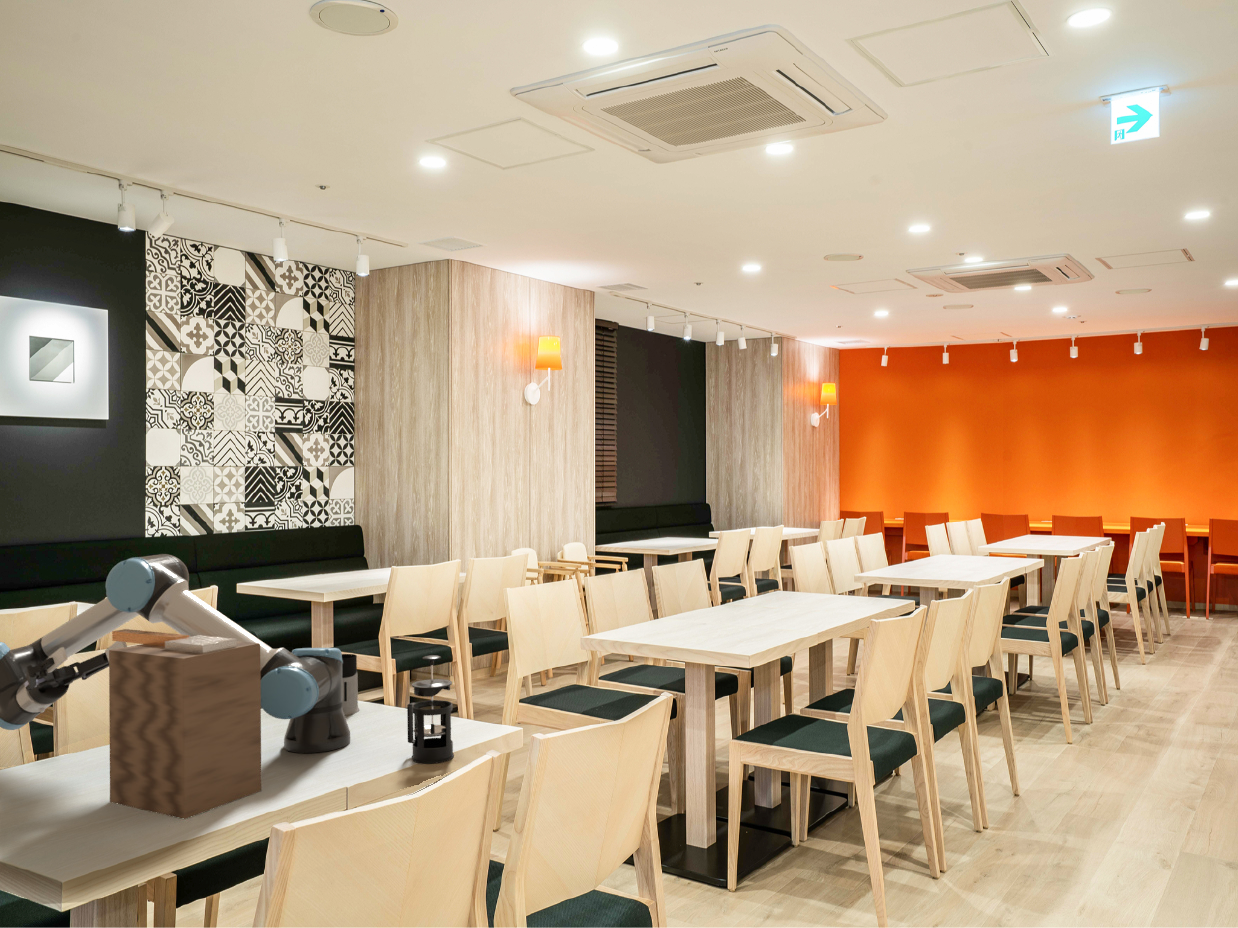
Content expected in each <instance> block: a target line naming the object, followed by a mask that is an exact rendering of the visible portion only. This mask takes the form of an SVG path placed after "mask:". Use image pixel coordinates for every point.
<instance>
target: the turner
mask: <svg viewBox="0 0 1238 928" xmlns="http://www.w3.org/2000/svg"><path fill="white" fill-rule="evenodd" d="M111 633H112V634H111V639H112V642H116V641H120V642H126V643H131V644H138V645H141V644H148V645H157V646H165V650H174V651H183V652H192V653H201V654H204V653H209V652H214V651H219V650H224V649H229V648H234V647H237V639H233V638H222V637H212V636H201V635H198V636H193V637H189V635H182V634H180V633H170V632H169V633H168V632H162V631H161V632H157V631H149V630H137V629H129V628H123V629H119V630H117V629H116V630H113V631H111Z"/></svg>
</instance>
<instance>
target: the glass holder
mask: <svg viewBox="0 0 1238 928" xmlns="http://www.w3.org/2000/svg"><path fill="white" fill-rule="evenodd" d="M342 660H343V664H342V708H343V713H344V716H347V715H348V716H349V715H353V714H357V713H358V712H360V708H359V703H358V702H359V701H358V697H359V696H358V695H359V694H358V693H359V692H358V690H359V689H358V688H359V686H358V683H359V682H358V678H359V677H358V665H357V664H358V663H357V662H358V659H357V654H355V653H354V654H353V653H342Z"/></svg>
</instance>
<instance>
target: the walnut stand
mask: <svg viewBox="0 0 1238 928" xmlns="http://www.w3.org/2000/svg"><path fill="white" fill-rule="evenodd" d="M189 637H191V636H189ZM108 672H109V673H108V676H109V677H108V679H109V681H108V685H109V692H108V693H109V696H108V697H109V700H108V701H109V702H108V703H109V704H108V705H109V706H108V707H109V708H108V709H109V711H108V713H109V715H108V716H109V719H108V720H109V802H110V803H112V802H113V804H116V803H118V804H117V805H121V804H122V805H121V806H125V805H126V807H129V806H130V807H131V808H133V809H134V808H135V809H139V810H144V811H147V812H151V811H152V813H156V812H157V813H156V814H160V813H161V815H164V814H166V815H165V816H169V815H170V817H173V816H174V818H177V817H179V818H178V819H182V818H184V819H183V820H186V818H187V819H189V818H192V817H195V816H197V815H200V814H202V812H203V813H205V812H208V811H210V809H211V810H213V808H214V809H216V808H218V806H219V807H221V805H222V806H224V805H227V804H229V802H230V803H232V802H235V801H237V799H238V800H240V799H243V798H245V796H246V797H247V796H248V797H249V796H251V795H253V794H256V793H259V792H262V707H261V675H260V643H253V642H242V641H237V647H234V648H229V649H224V650H219V651H214V652H209V653H204V654H201V653H192V652H183V651H174V650H165V646H157V645H148V644H136V645H135V644H134V645H129V646H127V647H124V648H118V649H112V650H109V667H108ZM242 797H243V798H242ZM234 800H235V801H234ZM226 803H227V804H226ZM194 815H195V816H194ZM191 816H192V817H191ZM188 817H189V818H188Z"/></svg>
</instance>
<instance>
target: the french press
mask: <svg viewBox="0 0 1238 928" xmlns="http://www.w3.org/2000/svg"><path fill="white" fill-rule="evenodd" d="M441 658H442V656H440V655H436V654H435V655H433V654H431V655H425V656H423V657H422V660H424V661H425V660H427V661H429V666H430V674H431V675H430V679H424V680H423V679H421V680H418V681H415V682H412V684H411V687H412V688H413V695H414V696H416V697H423V698H425V697H426V698H428V697H429V698H430V697H431V698H430V699H431V700H423V701H418V702H411V703H408V704H407V706H406V707H407V711H406V712H407V716H406V717H407V743H409V744H412V756H411V761H412V762H414V763H415V764H420V765H421V764H422V765H424V764H426V765H434V764H441V763H446V762H448V761H451V760H453V759H454V757H455V754H454V741H453V740H452V727H451V725H452V721H451V720H452V716H451V715H452V711H453V702H451V701H448V700H440V699H435V700H434V697H435V696H436V695H438V694H439V693H440V692H441V691H443V690H446V691H451V686H452V685H453V681H452V680H451V679H450V680H449V679H441V678H440V679H439V678H434V676H433V674H434V672H433V671H434V667H433V666H434V665H435V661H436V660H441ZM426 707H427V709H424V708H426ZM428 707H431V709H429V708H428ZM434 707H439V708H434ZM439 715H440V724H434V716H439ZM425 716H431V724H430V725H429V724H427V725H425Z"/></svg>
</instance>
